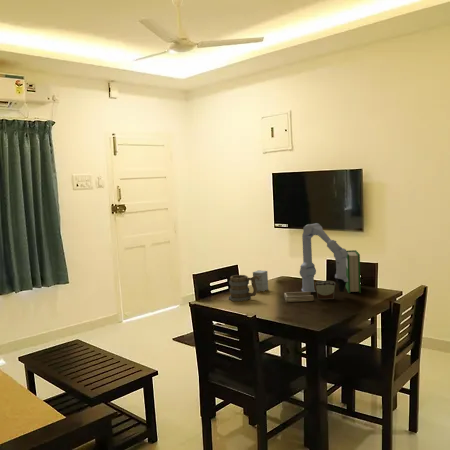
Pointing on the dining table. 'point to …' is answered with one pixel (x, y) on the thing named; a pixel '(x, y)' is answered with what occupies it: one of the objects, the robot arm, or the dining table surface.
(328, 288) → the food container
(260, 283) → the supplement box
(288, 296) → the open u-shaped wooden frame
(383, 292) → the dining table surface
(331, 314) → the dining table surface
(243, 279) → the tankard
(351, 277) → the hardback book
